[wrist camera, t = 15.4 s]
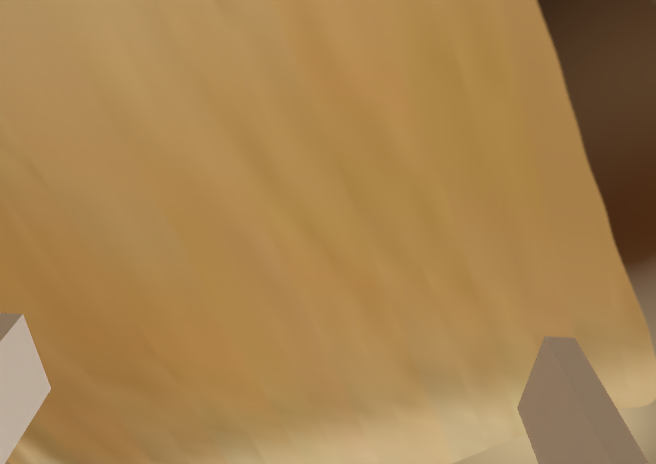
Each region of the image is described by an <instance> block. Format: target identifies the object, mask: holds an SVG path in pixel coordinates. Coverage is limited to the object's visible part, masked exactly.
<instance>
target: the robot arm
mask: <svg viewBox="0 0 656 464" xmlns="http://www.w3.org/2000/svg"><path fill="white" fill-rule="evenodd" d="M50 390H51V387H50V384H49V382H48V379H47V377H46V374H45V371H44V369H43V366H42V363H41V361H40V358H39V355H38V353H37V350H36V347H35V345H34V342H33V340H32V337H31V334H30V332H29V329H28V326H27V324H26V321H25V318H24V316H23V314H9V313H0V464H5V462H6V461H7V459H8V457H9V456H10V454H11V453H12V451H13V449H14V448H15V446H16V445H17V443H18V441H19V440H20V438H21V437H22V435H23V433H24V432H25V430H26V429H27V427H28V425H29V424H30V422H31V421H32V419H33V417H34V416H35V414H36V413H37V411H38V409H39V408H40V406H41V405H42V403H43V401H44V400H45V398H46V396H47V395H48V393H49V392H50ZM518 411H519V414H520V416H521V419H522V421H523V424H524V427H525V429H526V432H527V435H528V437H529V440H530V442H531V445H532V448H533V450H534V453H535V455H536V458H537V461H538V463H539V464H649V463H648V461H647V459H646V457H645V456H644V454H643V452H642V451H641V449H640V447H639V446H638V444H637V442H636V441H635V439H634V437H633V436H632V434H631V432H630V431H629V429H628V427H627V425H626V424H625V422H624V420H623V419H622V417H621V415H620V413H619V412H618V410H617V408H616V407H615V405H614V403H613V402H612V400H611V398H610V397H609V395H608V393H607V391H606V390H605V388H604V386H603V385H602V383H601V381H600V380H599V378H598V376H597V375H596V373H595V371H594V369H593V368H592V366H591V364H590V363H589V361H588V359H587V358H586V356H585V354H584V353H583V351H582V349H581V347H580V346H579V344H578V342H577V341H576V339H575V338H569V337H546V336H545V337H544V340H543V342H542V345H541V347H540V350H539V353H538V355H537V358H536V361H535V363H534V366H533V368H532V371H531V374H530V376H529V379H528V381H527V384H526V387H525V389H524V392H523V395H522V397H521V400H520V402H519V405H518Z"/></svg>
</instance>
